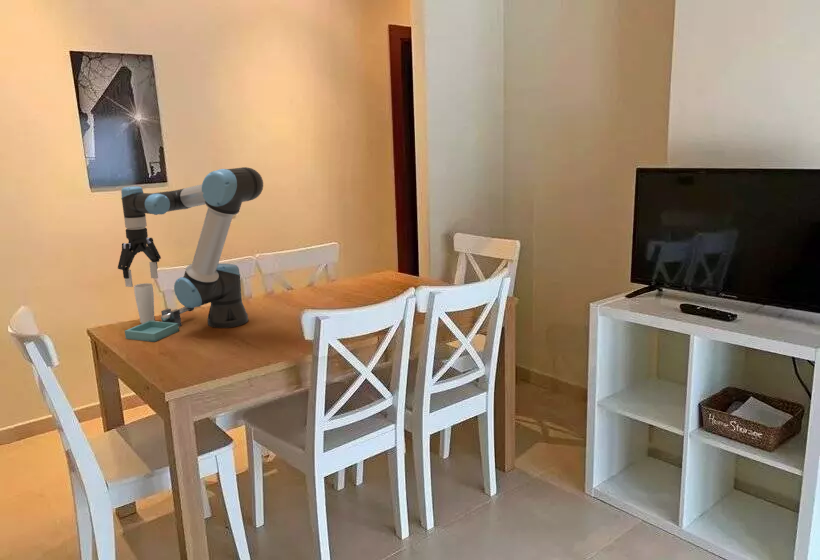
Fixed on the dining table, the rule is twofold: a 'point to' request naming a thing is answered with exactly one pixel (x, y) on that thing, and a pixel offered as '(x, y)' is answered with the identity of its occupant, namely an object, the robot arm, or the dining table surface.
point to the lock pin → (182, 310)
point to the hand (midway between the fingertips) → (142, 282)
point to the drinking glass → (145, 301)
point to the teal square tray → (151, 331)
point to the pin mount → (172, 316)
